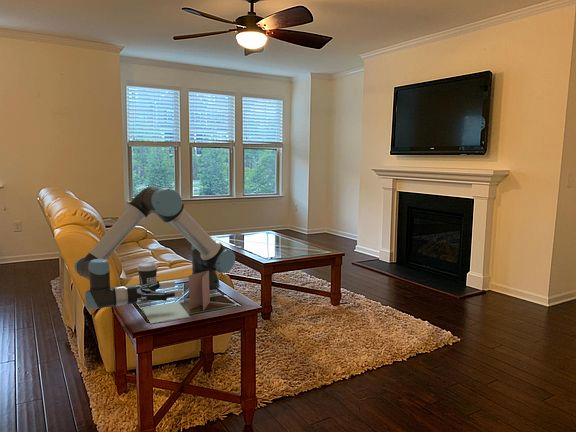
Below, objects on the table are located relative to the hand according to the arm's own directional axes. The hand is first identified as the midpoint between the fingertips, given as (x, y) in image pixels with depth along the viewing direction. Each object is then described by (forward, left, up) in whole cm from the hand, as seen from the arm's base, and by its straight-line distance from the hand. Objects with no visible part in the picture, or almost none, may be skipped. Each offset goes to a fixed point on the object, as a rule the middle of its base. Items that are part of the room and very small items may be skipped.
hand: (178, 288), depth 192 cm
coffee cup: (-29, -8, -10) cm, 32 cm away
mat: (0, -6, -10) cm, 12 cm away
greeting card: (0, +11, -10) cm, 15 cm away
